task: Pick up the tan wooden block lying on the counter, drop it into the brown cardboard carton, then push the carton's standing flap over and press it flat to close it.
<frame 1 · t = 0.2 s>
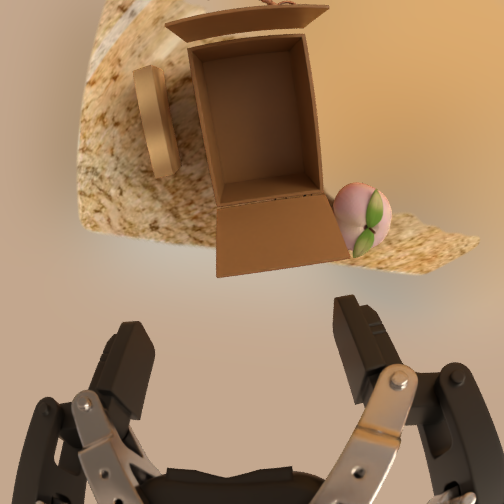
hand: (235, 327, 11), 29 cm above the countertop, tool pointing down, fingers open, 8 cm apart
tan wooden block: (163, 119, 32), on the countertop
carton: (255, 115, 32), on the countertop
flap: (277, 230, 26), point 13 cm above the countertop, hinge at 110.0°
decorative fruit: (348, 203, 39), on the countertop
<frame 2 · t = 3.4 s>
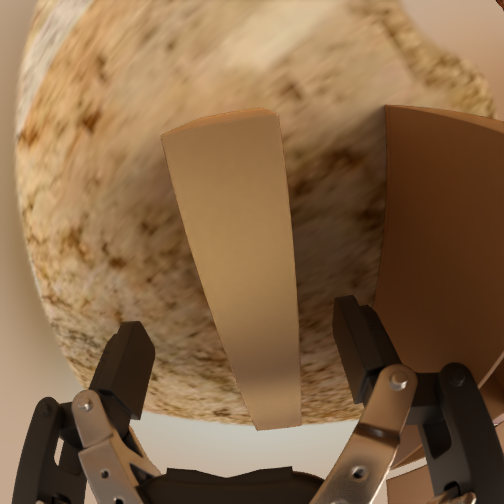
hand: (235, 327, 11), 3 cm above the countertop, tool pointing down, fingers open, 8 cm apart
tan wooden block: (257, 268, 13), on the countertop
carton: (457, 265, 13), on the countertop
flap: (464, 496, 7), point 13 cm above the countertop, hinge at 110.0°
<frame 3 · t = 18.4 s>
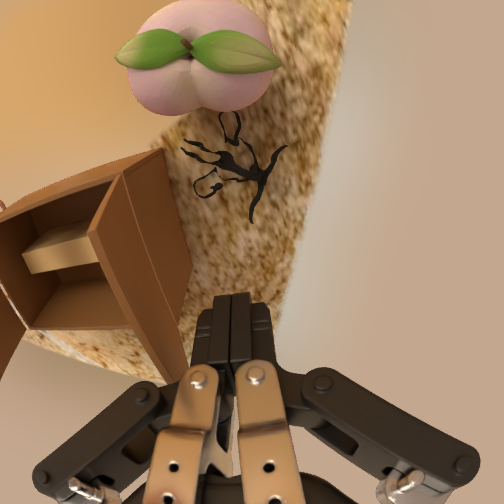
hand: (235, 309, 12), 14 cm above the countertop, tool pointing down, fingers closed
tan wooden block: (95, 228, 24), resting on carton
carton: (97, 227, 24), on the countertop
flap: (153, 306, 12), point 13 cm above the countertop, hinge at 110.0°, touching gripper
creature: (225, 156, 22), on the countertop
decorative fruit: (209, 65, 18), on the countertop
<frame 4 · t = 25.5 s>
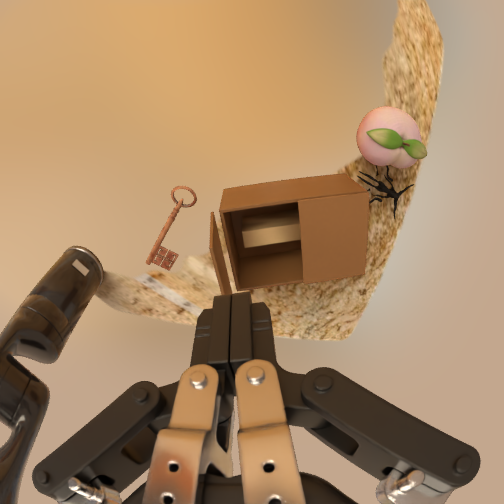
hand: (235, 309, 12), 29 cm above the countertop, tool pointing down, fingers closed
key: (172, 229, 41), on the countertop
tan wooden block: (289, 217, 41), resting on carton
carton: (289, 217, 41), on the countertop
flap: (335, 240, 33), point 9 cm above the countertop, hinge at -0.4°
creature: (374, 182, 39), on the countertop
decorative fruit: (372, 131, 35), on the countertop
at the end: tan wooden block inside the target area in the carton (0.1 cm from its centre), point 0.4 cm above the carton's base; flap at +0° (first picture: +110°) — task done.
